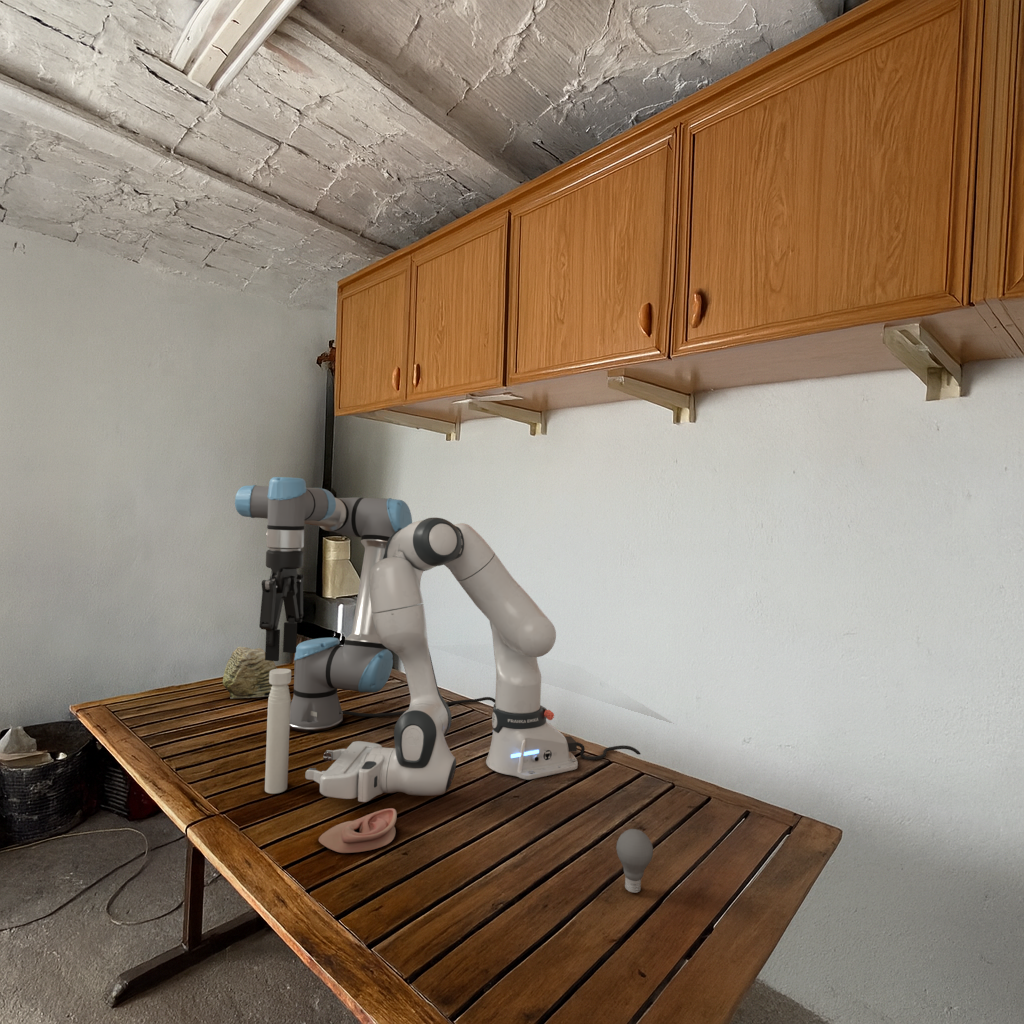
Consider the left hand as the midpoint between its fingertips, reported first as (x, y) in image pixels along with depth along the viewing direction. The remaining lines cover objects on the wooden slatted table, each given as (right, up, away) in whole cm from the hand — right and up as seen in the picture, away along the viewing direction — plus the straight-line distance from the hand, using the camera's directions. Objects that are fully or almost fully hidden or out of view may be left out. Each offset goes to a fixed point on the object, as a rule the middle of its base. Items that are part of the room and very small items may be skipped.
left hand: (281, 656), depth 136 cm
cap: (0, -3, 0) cm, 4 cm away
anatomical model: (+21, -30, -18) cm, 41 cm away
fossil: (-31, -26, +62) cm, 74 cm away
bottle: (-1, -29, +1) cm, 29 cm away
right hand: (+8, -23, 0) cm, 24 cm away
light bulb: (+70, -32, -30) cm, 83 cm away
